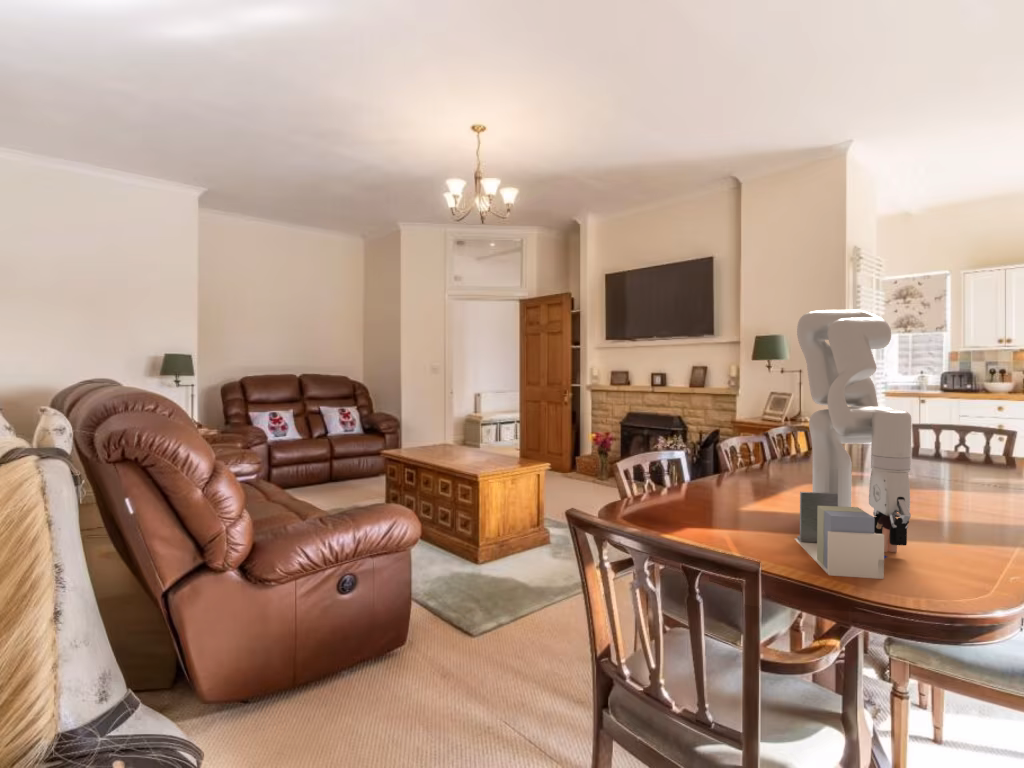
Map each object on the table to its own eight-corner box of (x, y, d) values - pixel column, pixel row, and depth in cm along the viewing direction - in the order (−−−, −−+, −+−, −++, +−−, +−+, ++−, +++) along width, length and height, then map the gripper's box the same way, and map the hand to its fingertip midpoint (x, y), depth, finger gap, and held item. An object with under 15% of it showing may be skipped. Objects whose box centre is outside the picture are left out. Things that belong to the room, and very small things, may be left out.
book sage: (817, 559, 120) (817, 505, 120) (857, 561, 118) (857, 507, 118) (823, 565, 116) (823, 510, 116) (864, 568, 115) (865, 512, 114)
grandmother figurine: (867, 551, 128) (868, 498, 128) (879, 548, 130) (879, 496, 129) (901, 561, 121) (901, 505, 121) (912, 559, 123) (913, 504, 122)
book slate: (823, 566, 116) (824, 510, 116) (865, 568, 114) (866, 512, 114) (830, 573, 112) (831, 515, 112) (873, 575, 110) (874, 517, 110)
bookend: (797, 537, 134) (797, 489, 134) (832, 539, 133) (833, 491, 132) (801, 541, 131) (801, 492, 131) (837, 543, 130) (837, 494, 129)
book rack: (794, 543, 134) (794, 503, 134) (838, 545, 132) (839, 505, 132) (829, 580, 111) (829, 532, 111) (883, 584, 109) (884, 535, 109)
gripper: (857, 456, 134) (856, 527, 135) (890, 470, 117) (888, 550, 118) (891, 457, 133) (890, 528, 133) (929, 471, 116) (928, 552, 116)
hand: (889, 538), depth 126 cm, fingers closed on grandmother figurine, 7 cm apart
